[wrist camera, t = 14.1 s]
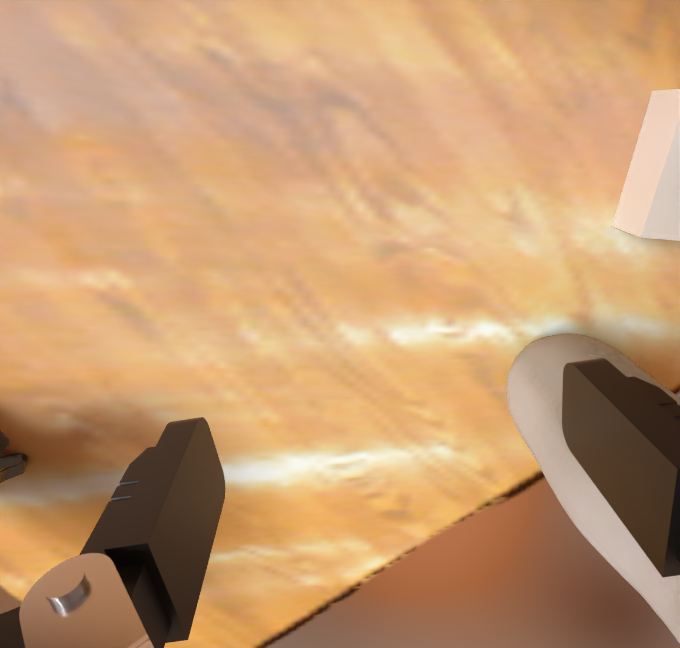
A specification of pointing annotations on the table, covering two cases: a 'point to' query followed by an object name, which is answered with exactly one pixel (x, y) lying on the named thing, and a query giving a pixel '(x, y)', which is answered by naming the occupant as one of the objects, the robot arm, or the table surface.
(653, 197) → the riser block
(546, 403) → the grey vase
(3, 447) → the coffee press
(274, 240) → the table surface
